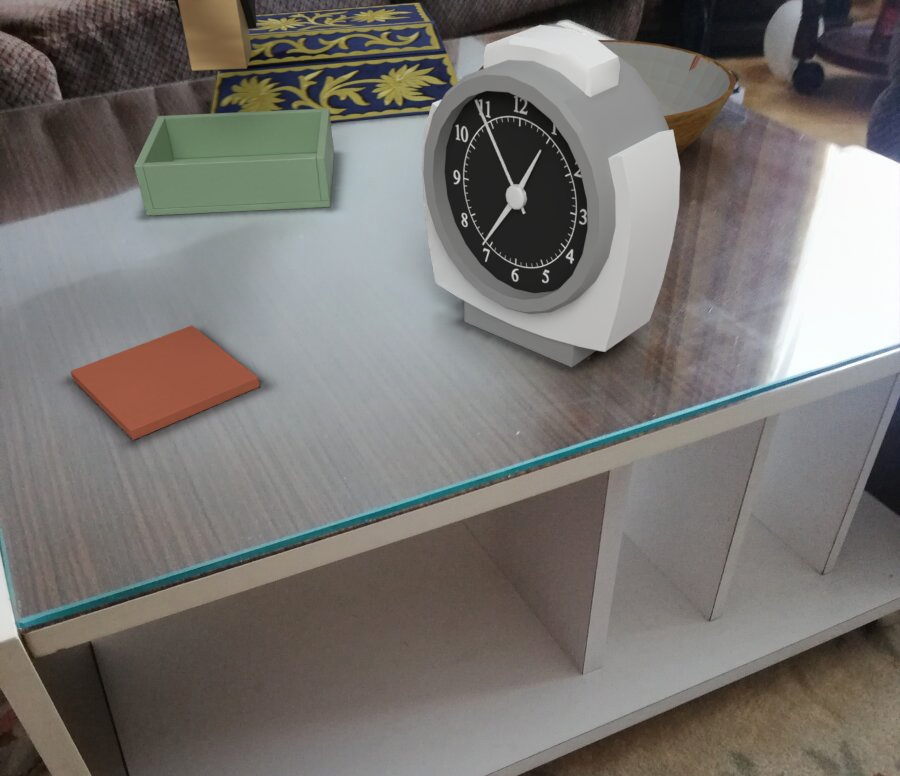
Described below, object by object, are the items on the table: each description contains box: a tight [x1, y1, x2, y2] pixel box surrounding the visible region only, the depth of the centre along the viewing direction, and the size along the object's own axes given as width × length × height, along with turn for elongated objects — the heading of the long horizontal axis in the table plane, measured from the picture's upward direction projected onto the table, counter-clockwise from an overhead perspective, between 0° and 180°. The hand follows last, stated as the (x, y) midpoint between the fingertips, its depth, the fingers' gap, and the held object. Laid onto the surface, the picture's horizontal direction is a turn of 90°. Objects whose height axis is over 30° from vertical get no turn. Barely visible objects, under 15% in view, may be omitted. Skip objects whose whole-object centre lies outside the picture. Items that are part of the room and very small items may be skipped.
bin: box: [133, 109, 335, 216], centre depth 91 cm, size 18×14×5 cm
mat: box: [70, 324, 260, 441], centre depth 67 cm, size 10×10×1 cm
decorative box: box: [209, 1, 459, 123], centre depth 105 cm, size 11×30×9 cm, turn 101°
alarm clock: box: [421, 24, 681, 368], centre depth 64 cm, size 18×8×20 cm, turn 48°
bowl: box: [477, 39, 737, 155], centre depth 92 cm, size 25×25×8 cm
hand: (220, 14), depth 86 cm, fingers closed on block, 5 cm apart
